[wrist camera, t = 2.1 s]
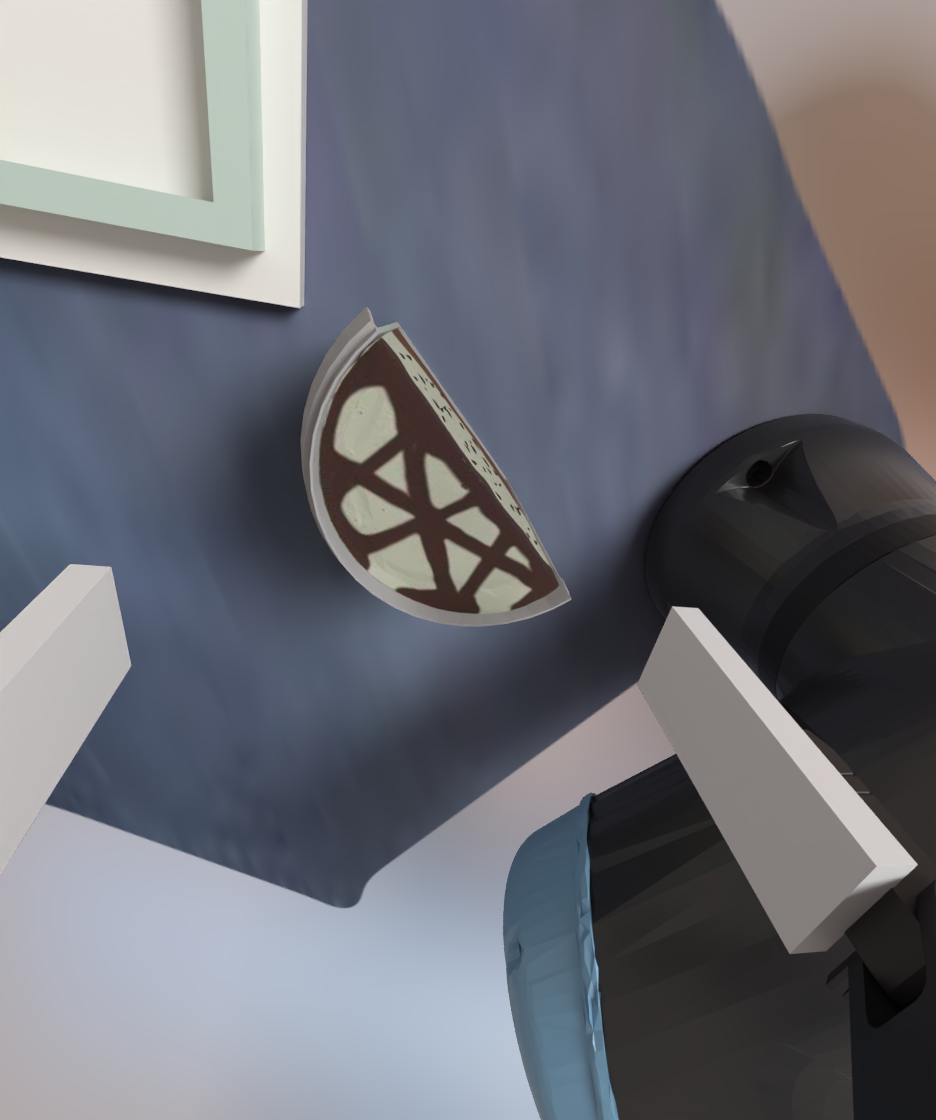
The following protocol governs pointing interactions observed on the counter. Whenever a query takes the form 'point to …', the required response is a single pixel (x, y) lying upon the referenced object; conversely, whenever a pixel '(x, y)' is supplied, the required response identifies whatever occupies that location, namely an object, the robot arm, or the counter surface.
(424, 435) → the food container
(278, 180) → the pocket plate
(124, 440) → the counter surface
